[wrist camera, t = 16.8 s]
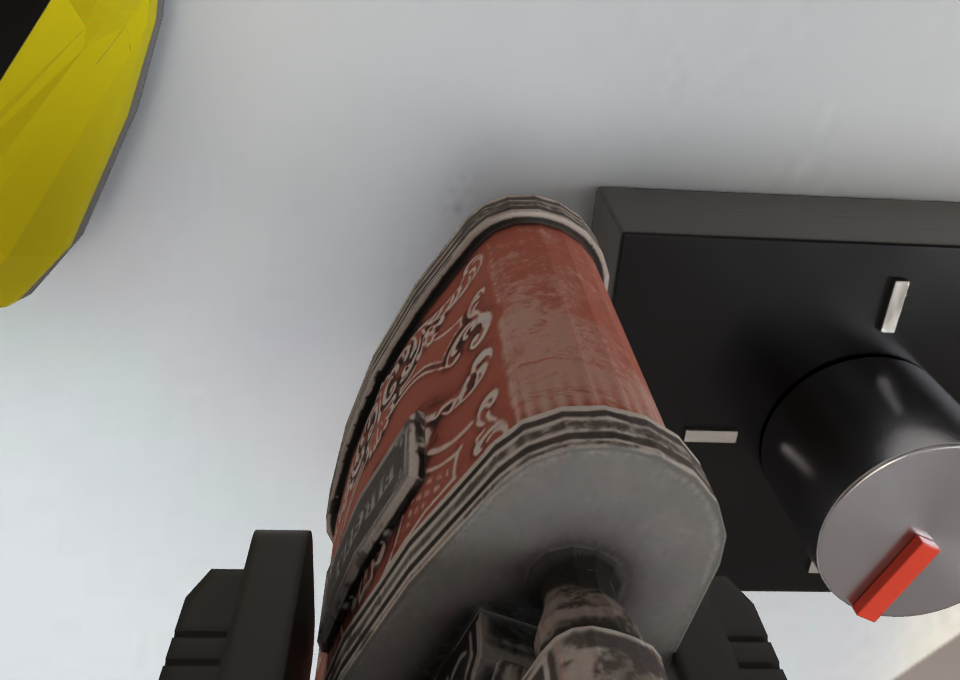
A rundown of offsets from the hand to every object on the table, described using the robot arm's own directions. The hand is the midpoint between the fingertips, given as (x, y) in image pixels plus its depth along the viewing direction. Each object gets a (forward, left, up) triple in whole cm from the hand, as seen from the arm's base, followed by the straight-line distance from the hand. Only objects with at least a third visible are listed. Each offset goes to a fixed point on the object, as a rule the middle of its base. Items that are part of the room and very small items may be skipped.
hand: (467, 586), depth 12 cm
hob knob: (-11, +4, -10) cm, 15 cm away
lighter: (0, 0, -5) cm, 5 cm away
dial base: (-11, +4, -14) cm, 18 cm away
